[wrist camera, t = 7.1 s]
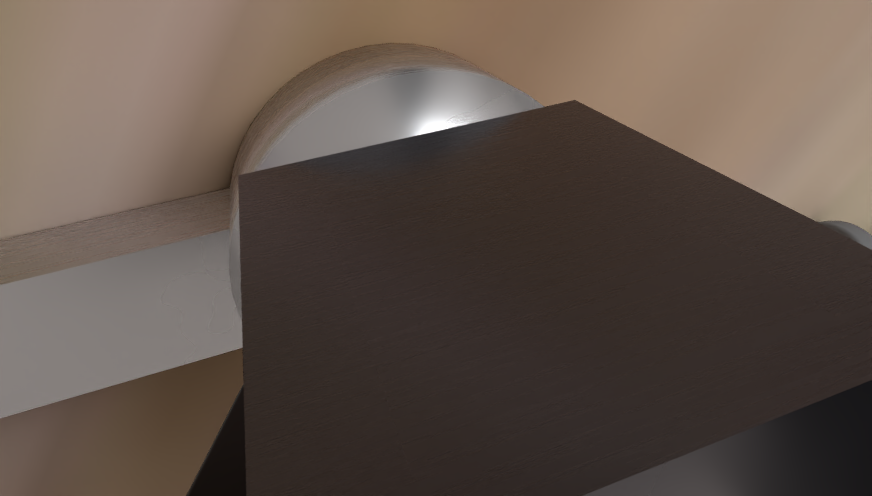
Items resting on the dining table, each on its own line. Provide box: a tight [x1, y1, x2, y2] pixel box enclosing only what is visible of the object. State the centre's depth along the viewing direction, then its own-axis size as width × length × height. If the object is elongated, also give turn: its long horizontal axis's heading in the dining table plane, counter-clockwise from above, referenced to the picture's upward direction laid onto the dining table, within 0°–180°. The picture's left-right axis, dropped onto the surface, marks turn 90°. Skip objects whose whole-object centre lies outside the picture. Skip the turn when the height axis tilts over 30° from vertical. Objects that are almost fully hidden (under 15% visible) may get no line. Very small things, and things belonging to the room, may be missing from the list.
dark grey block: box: [238, 100, 872, 496], centre depth 7 cm, size 5×5×6 cm
